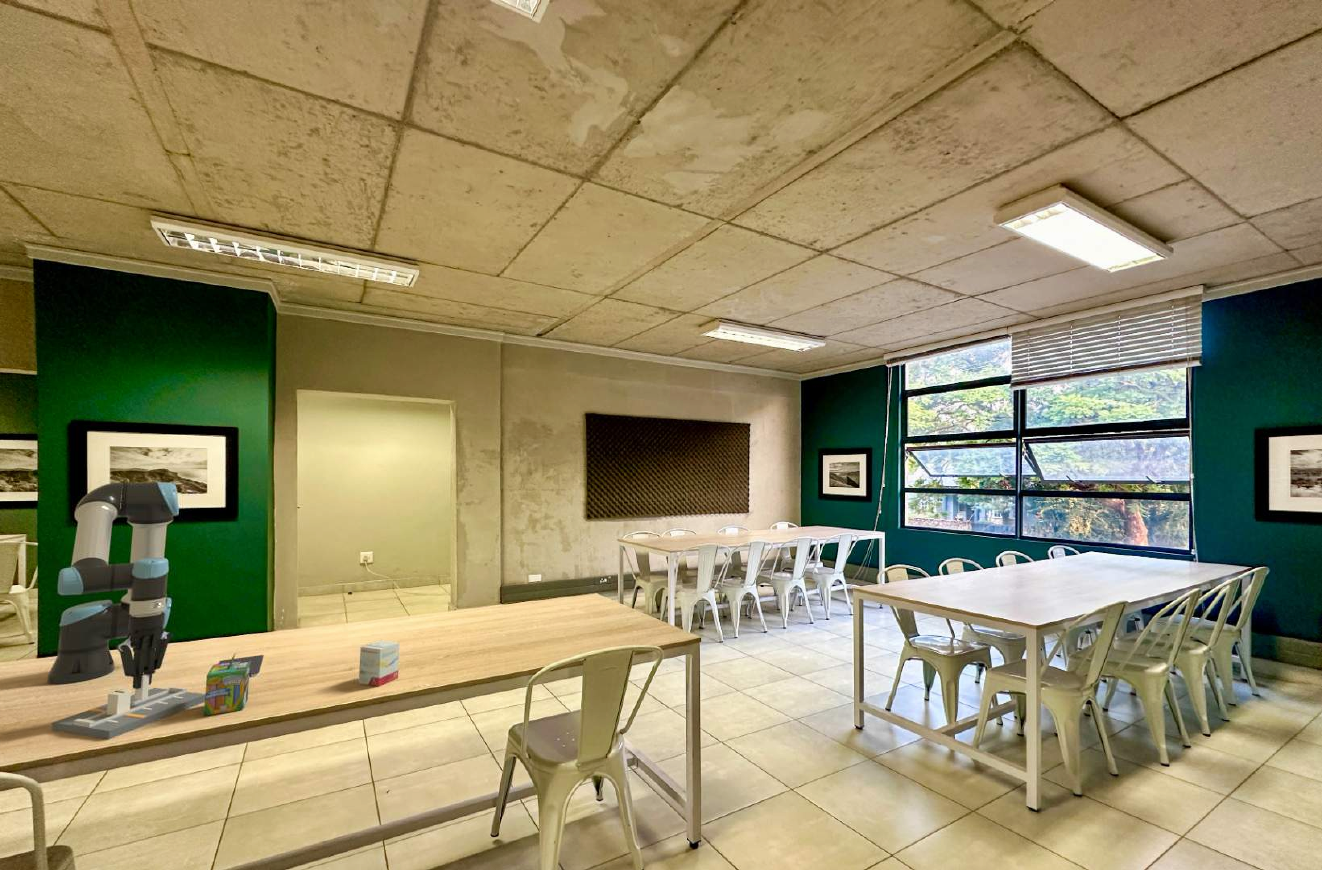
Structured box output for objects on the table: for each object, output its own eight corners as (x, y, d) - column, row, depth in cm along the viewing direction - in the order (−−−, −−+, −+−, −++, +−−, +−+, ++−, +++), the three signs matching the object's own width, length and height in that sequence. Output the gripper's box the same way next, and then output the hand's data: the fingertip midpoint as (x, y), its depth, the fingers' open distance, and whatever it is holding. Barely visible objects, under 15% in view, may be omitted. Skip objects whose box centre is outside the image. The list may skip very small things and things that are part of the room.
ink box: (399, 677, 183) (400, 641, 183) (378, 687, 175) (379, 649, 175) (379, 674, 185) (380, 638, 186) (357, 683, 177) (359, 646, 178)
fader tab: (106, 714, 148) (108, 693, 149) (119, 709, 151) (121, 688, 152) (116, 716, 148) (118, 694, 148) (129, 711, 151) (131, 690, 151)
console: (51, 730, 144) (52, 717, 144) (154, 694, 167) (155, 683, 167) (109, 739, 139) (110, 726, 139) (206, 701, 163) (206, 690, 163)
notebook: (219, 665, 194) (209, 685, 176) (219, 660, 194) (210, 680, 176) (263, 659, 201) (258, 677, 183) (263, 654, 201) (259, 672, 183)
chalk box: (209, 705, 160) (213, 653, 161) (248, 699, 165) (251, 648, 166) (202, 717, 152) (205, 662, 153) (243, 710, 157) (246, 657, 158)
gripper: (130, 620, 149) (123, 709, 148) (182, 609, 162) (176, 691, 160) (110, 618, 151) (103, 706, 150) (162, 607, 164) (157, 688, 162)
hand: (141, 698), depth 155 cm, fingers closed
